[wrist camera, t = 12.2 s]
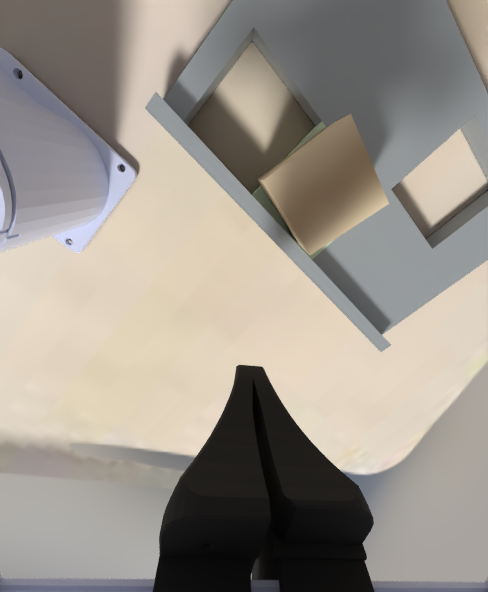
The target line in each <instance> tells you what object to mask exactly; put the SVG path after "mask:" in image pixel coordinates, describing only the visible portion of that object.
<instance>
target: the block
mask: <svg viewBox="0 0 488 592" xmlns="http://www.w3.org/2000/svg"><path fill="white" fill-rule="evenodd" d="M258 181H259V183H260V184H261V186H262V188H263V189H264V191H265V192H266V194H267V196H268V197H269V199H270V200H271V202H272V204H273V205H274V207H275V208H276V210H277V212H278V213H279V215H280V217H281V218H282V220H283V221H284V223H285V225H286V226H287V228H288V229H289V231H290V233H291V234H292V236H293V237H294V239H295V241H296V242H297V243H298V244H299V245H300V246H301V247H302V248H303V249H304V250H305V251H306V252H307V253H308V254H309V255H311V254H313V253H315V252H316V251H318V250H319V249H321V248H322V247H324V246H325V245H327V244H328V243H330V242H331V241H333V240H334V239H336V238H338V237H339V236H341V235H342V234H344V233H345V232H347V231H348V230H350V229H351V228H353V227H354V226H356V225H357V224H359V223H360V222H362V221H364V220H365V219H367V218H368V217H370V216H371V215H373V214H374V213H376V212H377V211H379V210H380V209H382V208H383V207H385V206H386V205H388V204H389V202H388V200H387V197H386V195H385V193H384V190H383V188H382V186H381V183H380V181H379V179H378V176H377V174H376V172H375V169H374V167H373V164H372V162H371V160H370V157H369V155H368V153H367V150H366V148H365V146H364V143H363V141H362V139H361V136H360V134H359V132H358V129H357V127H356V125H355V122H354V120H353V117H352V115H351V114H349V115H347V116H345V117H343V118H341V119H340V120H338V121H336V122H334V123H332V124H331V125H329V126H327V127H325V128H324V129H322V130H321V131H320V132H318V133H317V134H316V135H314V136H313V137H312V138H311V139H309V140H308V141H307V142H305V143H304V144H303V145H302V146H300V147H299V148H298V149H296V150H295V151H294V152H292V153H291V154H290V155H289V156H287V157H286V158H285V159H283V160H282V161H281V162H280V163H278V164H277V165H276V166H274V167H273V168H272V169H270V170H269V171H268V172H267V173H265V174H264V175H263V176H261V177H260V178H259V179H258Z"/></svg>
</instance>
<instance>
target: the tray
mask: <svg viewBox="0 0 488 592" xmlns="http://www.w3.org/2000/svg"><path fill="white" fill-rule="evenodd" d="M251 41H253V42H254V44H255V45H256V46H257V48H258V49H259V50H260V52H261V53H262V54H263V56H264V57H265V59H266V60H267V61H268V63H269V64H270V65H271V67H272V68H273V69H274V71H275V72H276V73H277V75H278V76H279V78H280V79H281V80H282V82H283V83H284V84H285V86H286V87H287V88H288V90H289V91H290V93H291V94H292V95H293V97H294V98H295V99H296V101H297V102H298V103H299V105H300V106H301V107H302V109H303V110H304V112H305V113H306V114H307V116H308V117H309V118H310V120H311V121H312V122H313V124H314V125H315V126H314V127H313V128H312V130H311V131H310V132H309V133H308V134H307V135H306V136H305V137H304V138H303V139H302V140H301V141H300V142H299V144H298V145H297V146H296V147H295V148H294V149H293V150H292V151H291V152H290V153H289V154H288V155H287V156H289V155H290V154H291V153H292V152H294V151H295V150H296V149H298V148H299V147H300V146H302V145H303V144H304V143H305V142H307V141H308V140H309V139H311V138H312V137H313V136H314V135H316V134H317V133H318V132H320V131H321V130H322V129H324V128H325V127H327V126H329V125H331V124H332V123H334V122H336V121H338V120H340V119H341V118H343V117H345V116H347V115H349V114H351V115H352V117H353V120H354V122H355V125H356V127H357V129H358V132H359V134H360V136H361V139H362V141H363V143H364V146H365V148H366V150H367V153H368V155H369V157H370V160H371V162H372V164H373V167H374V169H375V172H376V174H377V176H378V179H379V181H380V183H381V186H382V188H383V190H384V193H385V195H386V197H387V200H388V202H389V204H388V205H386V206H385V207H383V208H382V209H380V210H379V211H377V212H376V213H374V214H373V215H371V216H370V217H368V218H367V219H365V220H364V221H362V222H360V223H359V224H357V225H356V226H354V227H353V228H351V229H350V230H348V231H347V232H345V233H344V234H342V235H341V236H339V237H338V238H336V239H334V240H333V241H331V242H330V243H328V244H327V245H325V246H324V247H322V248H321V249H319V250H318V251H316V252H315V253H313V254H311V255H309V254H308V253H307V252H306V251H305V250H304V249H303V248H302V247H301V246H300V245H299V244H298V243H297V242H296V241H295V239H294V237H293V236H292V234H291V233H290V231H289V229H288V228H287V226H286V225H285V223H284V221H283V220H282V218H281V217H280V215H279V213H278V212H277V210H276V208H275V207H274V205H273V204H272V202H271V200H270V199H269V197H268V196H267V194H266V192H265V191H264V189H263V188H262V186H261V185H260V186H259V187H258V188H257V189H256V190H255V191H254V192H253V193H252V194H250V193H249V191H248V190H247V189H246V188H245V187H244V186H243V185H242V184H241V183H240V182H239V181H238V180H237V179H236V177H235V176H234V175H233V174H232V173H231V172H230V171H229V170H228V169H227V168H226V167H225V166H224V165H223V163H222V162H221V161H220V160H219V159H218V158H217V157H216V156H215V155H214V154H213V153H212V152H211V151H210V149H209V148H208V147H207V146H206V145H205V144H204V143H203V142H202V141H201V140H200V139H199V138H198V137H197V135H196V134H195V133H194V132H193V131H192V130H191V129H190V128H189V127H188V125H189V123H190V122H191V121H192V119H193V118H194V117H195V115H196V114H197V113H198V111H199V110H200V109H201V107H202V106H203V105H204V103H205V102H206V101H207V100H208V98H209V97H210V96H211V94H212V93H213V92H214V90H215V89H216V88H217V86H218V85H219V84H220V82H221V81H222V80H223V78H224V77H225V76H226V74H227V73H228V72H229V70H230V69H231V68H232V66H233V65H234V64H235V63H236V61H237V60H238V59H239V57H240V56H241V55H242V53H243V52H244V51H245V49H246V48H247V47H248V45H249V44H250V43H251ZM145 109H146V110H147V111H148V112H149V113H150V114H151V115H152V116H153V117H154V118H155V119H156V120H157V121H158V122H159V123H160V124H161V125H162V126H163V127H164V128H165V129H166V130H167V131H168V132H169V133H170V135H171V136H172V137H173V138H174V139H175V140H176V141H177V142H178V143H179V144H180V145H181V146H182V147H183V148H184V149H185V150H186V151H187V152H188V153H189V154H190V155H191V156H192V157H193V158H194V159H195V160H196V161H197V162H198V163H199V165H200V166H201V167H202V168H203V169H204V170H205V171H206V172H207V173H208V174H209V175H210V176H211V177H212V178H213V179H214V180H215V181H216V182H217V183H218V184H219V185H220V186H221V187H222V188H223V189H224V190H225V191H226V192H227V193H228V194H229V196H230V197H231V198H232V199H233V200H234V201H235V202H236V203H237V204H238V205H239V206H240V207H241V208H242V209H243V210H244V211H245V212H246V213H247V214H248V215H249V216H250V217H251V218H252V219H253V220H254V221H255V222H256V223H257V224H258V226H259V227H260V228H261V229H262V230H263V231H264V232H265V233H266V234H267V235H268V236H269V237H270V238H271V239H272V240H273V241H274V242H275V243H276V244H277V245H278V246H279V247H280V248H281V249H282V250H283V251H284V252H285V253H286V254H287V256H288V257H289V258H290V259H291V260H292V261H293V262H294V263H295V264H296V265H297V266H298V267H299V268H300V269H301V270H302V271H303V272H304V273H305V274H306V275H307V276H308V277H309V278H310V279H311V280H312V281H313V282H314V283H315V284H316V285H317V287H318V288H319V289H320V290H321V291H322V292H323V293H324V294H325V295H326V296H327V297H328V298H329V299H330V300H331V301H332V302H333V303H334V304H335V305H336V306H337V307H338V308H339V309H340V310H341V311H342V312H343V313H344V314H345V315H346V317H347V318H348V319H349V320H350V321H351V322H352V323H353V324H354V325H355V326H356V327H357V328H358V329H359V330H360V331H361V332H362V333H363V334H364V335H365V336H366V337H367V338H368V339H369V340H370V341H371V342H372V343H373V344H374V345H375V347H376V348H377V349H378V350H379V351H380V352H382V351H383V350H385V349H386V348H388V347H389V346H391V344H390V343H389V342H388V341H387V340H386V339H385V338H384V337H383V336H382V334H384V333H385V332H387V331H388V330H389V329H391V328H392V327H394V326H395V325H396V324H398V323H399V322H401V321H402V320H404V319H405V318H406V317H408V316H409V315H411V314H412V313H413V312H415V311H416V310H418V309H419V308H420V307H422V306H423V305H425V304H426V303H427V302H429V301H430V300H432V299H433V298H435V297H436V296H437V295H439V294H440V293H442V292H443V291H444V290H446V289H447V288H449V287H450V286H451V285H453V284H454V283H456V282H457V281H458V280H460V279H461V278H463V277H464V276H466V275H467V274H468V273H470V272H471V271H473V270H474V269H475V268H477V267H478V266H480V265H481V264H482V263H484V262H485V261H487V260H488V190H487V191H486V192H485V193H484V194H482V195H481V196H480V197H479V198H477V199H476V200H475V201H473V202H472V203H471V204H470V205H468V206H467V207H466V208H465V209H463V210H462V211H461V212H460V213H458V214H457V215H456V216H454V217H453V218H452V219H451V220H449V221H448V222H447V223H446V224H444V225H443V226H442V227H441V228H439V229H438V230H437V231H436V232H434V233H433V234H432V235H430V236H429V237H428V238H427V239H425V238H424V236H423V235H422V233H421V232H420V230H419V229H418V227H417V226H416V225H415V223H414V222H413V220H412V219H411V217H410V216H409V214H408V213H407V211H406V210H405V209H404V207H403V206H402V204H401V203H400V201H399V200H398V198H397V197H396V195H395V194H394V192H393V191H392V190H391V189H392V188H393V187H394V186H395V185H397V184H398V183H399V182H400V181H401V180H402V179H403V178H404V177H406V176H407V175H408V174H409V173H410V172H411V171H412V170H413V169H415V168H416V167H417V166H418V165H419V164H420V163H421V162H422V161H424V160H425V159H426V158H427V157H428V156H429V155H430V154H431V153H432V152H434V151H435V150H436V149H437V148H438V147H439V146H440V145H441V144H443V143H444V142H445V141H446V140H447V139H448V138H449V137H450V136H452V135H453V134H454V133H455V132H456V131H457V130H458V129H459V128H461V130H462V132H463V134H464V136H465V138H466V140H467V142H468V144H469V145H470V147H471V149H472V151H473V153H474V155H475V157H476V159H477V161H478V163H479V165H480V167H481V169H482V171H483V173H484V174H485V176H486V178H487V180H488V92H487V90H486V88H485V86H484V83H483V81H482V79H481V77H480V74H479V72H478V70H477V68H476V66H475V63H474V61H473V59H472V57H471V54H470V52H469V50H468V48H467V46H466V43H465V41H464V39H463V37H462V35H461V32H460V30H459V28H458V26H457V23H456V21H455V19H454V17H453V15H452V12H451V10H450V8H449V6H448V3H447V1H446V0H233V1H232V2H231V3H230V5H229V6H228V8H227V9H226V11H225V12H224V13H223V15H222V16H221V18H220V19H219V21H218V22H217V23H216V25H215V26H214V28H213V29H212V31H211V32H210V33H209V35H208V36H207V38H206V39H205V41H204V42H203V43H202V45H201V46H200V48H199V49H198V51H197V52H196V53H195V55H194V56H193V58H192V59H191V61H190V62H189V63H188V65H187V66H186V68H185V69H184V71H183V72H182V73H181V75H180V76H179V78H178V79H177V81H176V82H175V83H174V85H173V86H172V88H171V89H170V91H169V92H168V93H167V95H166V96H165V98H164V99H162V98H161V97H160V96H159V95H158V93H157V92H155V94H154V95H153V97H152V98H151V100H150V101H149V103H148V104H147V106H146V107H145Z"/></svg>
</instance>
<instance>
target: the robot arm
mask: <svg viewBox="0 0 488 592" xmlns="http://www.w3.org/2000/svg"><path fill="white" fill-rule="evenodd" d="M19 71H21V72H22V74H23V77H22V79H20V78H19V76H18V72H19ZM121 164H123V165H124V166H125V171H124V172H122V171H121V170H120V165H121ZM136 178H137V173H136V170H135V169H134V168H133V167H132V166H131V165H130V164H129V163H128V162H127V161H126V160H125V159H123V158H122V157H121V156H120V155H119V154H118V153H117V152H116V151H115V150H114V149H113V148H112V147H110V146H109V145H108V144H107V143H106V142H105V141H104V140H103V139H102V138H101V137H100V136H99V135H98V134H96V133H95V132H94V131H93V130H92V129H91V128H90V127H89V126H88V125H87V124H86V123H85V122H84V121H82V120H81V119H80V118H79V117H78V116H77V115H76V114H75V113H74V112H73V111H72V110H71V109H69V108H68V107H67V106H66V105H65V104H64V103H63V102H62V101H61V100H60V99H59V98H58V97H57V96H55V95H54V94H53V93H52V92H51V91H50V90H49V89H48V88H47V87H46V86H45V85H44V84H43V83H41V82H40V81H39V80H38V79H37V78H36V77H35V76H34V75H33V74H32V73H31V72H30V71H28V70H27V69H26V68H25V67H24V66H23V65H22V64H21V63H20V62H19V61H18V60H17V59H16V58H14V57H13V56H12V55H11V54H10V53H9V52H8V51H6V50H4V49H3V48H0V253H1V252H4V251H7V250H10V249H14V248H17V247H20V246H23V245H26V244H29V243H32V242H35V241H38V240H42V239H45V238H48V237H51V236H53V237H54V238H55V239H57V240H58V241H59V242H61V243H62V244H63V245H65V246H66V247H67V248H69V249H70V250H72V251H73V252H76V253H79V252H81V251H83V250H84V249H85V247H86V246H87V245H88V243H89V242H90V241H91V239H92V238H93V237H94V235H95V234H96V232H97V231H98V230H99V228H100V227H101V226H102V224H103V223H104V222H105V220H106V219H107V218H108V216H109V215H110V214H111V212H112V211H113V210H114V208H115V207H116V205H117V204H118V203H119V201H120V200H121V199H122V197H123V196H124V195H125V193H126V192H127V191H128V189H129V188H130V187H131V185H132V184H133V183H134V181H135V180H136ZM68 239H71V240H72V242H73V244H71V243H70V242H69V240H68ZM373 523H374V522H373V517H372V514H371V512H370V509H369V507H368V504H367V502H366V500H365V498H364V496H363V494H362V492H361V490H360V488H359V486H358V485H357V484H355V483H354V482H353V481H352V480H350V479H349V478H348V477H347V476H346V475H345V474H344V473H342V472H341V471H340V470H339V469H338V468H337V467H336V466H335V465H333V464H332V463H331V462H330V461H329V460H328V459H327V458H326V457H325V456H324V455H323V454H322V453H321V452H320V451H319V450H318V448H317V447H316V446H315V445H314V444H313V443H312V442H311V441H310V440H309V439H308V437H307V436H306V435H305V434H304V433H303V432H302V430H301V429H300V428H299V426H298V425H297V424H296V423H295V421H294V420H293V418H292V417H291V416H290V414H289V413H288V411H287V410H286V408H285V407H284V405H283V404H282V402H281V400H280V399H279V397H278V395H277V394H276V392H275V390H274V388H273V387H272V385H271V383H270V381H269V379H268V377H267V375H266V373H265V370H264V368H263V367H258V366H246V365H238V366H237V367H236V374H235V380H234V386H233V388H232V391H231V394H230V397H229V399H228V402H227V404H226V407H225V409H224V411H223V413H222V415H221V417H220V419H219V421H218V423H217V425H216V427H215V428H214V430H213V432H212V433H211V435H210V437H209V438H208V440H207V442H206V443H205V445H204V446H203V448H202V449H201V451H200V452H199V453H198V455H197V456H196V458H195V459H194V461H193V462H192V463H191V465H190V466H189V467H188V468H187V470H186V471H185V472H184V473H183V475H182V476H181V477H180V479H179V482H178V483H177V485H176V487H175V489H174V491H173V494H172V496H171V498H170V500H169V502H168V504H167V507H166V510H165V513H164V516H163V521H162V526H161V531H160V537H159V542H160V543H159V544H160V557H159V562H158V567H157V572H156V577H155V579H87V578H85V579H84V578H82V579H79V578H76V579H75V578H2V575H1V572H0V592H488V577H487V578H486V579H485V582H440V581H439V582H438V581H436V582H435V581H433V582H432V581H431V582H430V581H371V579H370V576H369V573H368V570H367V567H366V564H365V561H364V560H366V559H367V557H366V553H365V550H364V547H363V544H362V543H363V541H364V540H365V538H366V537H367V535H368V534H369V532H370V531H371V529H372V526H373ZM251 572H252V580H251Z"/></svg>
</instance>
